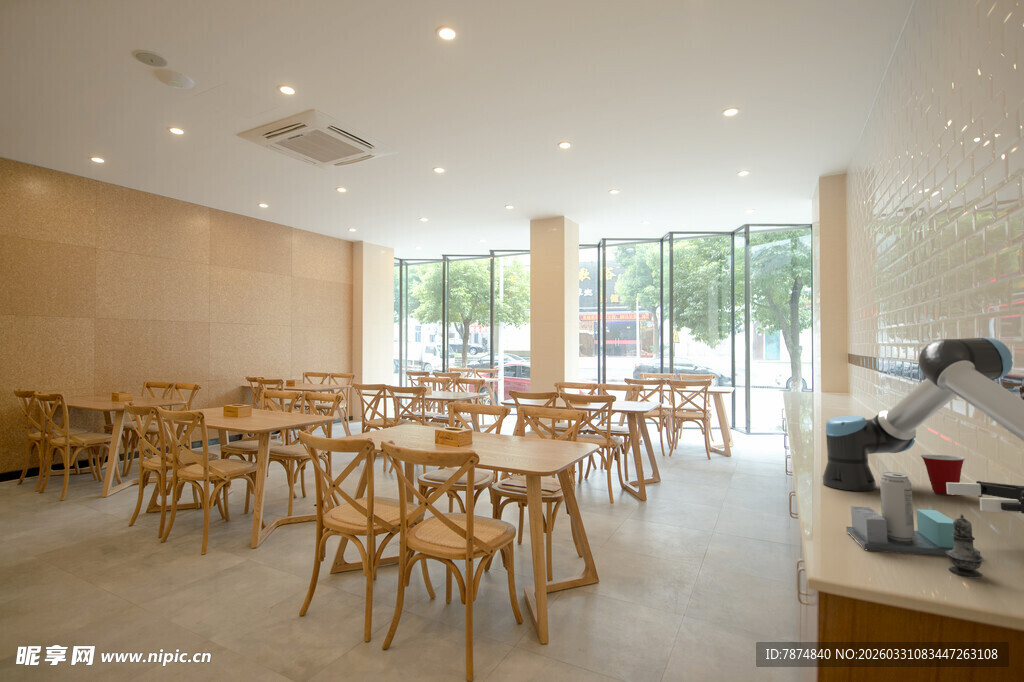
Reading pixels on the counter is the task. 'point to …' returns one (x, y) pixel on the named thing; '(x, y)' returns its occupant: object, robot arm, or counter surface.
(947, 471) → the plastic cup
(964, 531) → the salt shaker
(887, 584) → the counter surface
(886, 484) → the energy drink can
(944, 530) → the sliding jaw
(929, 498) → the counter surface
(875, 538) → the grey base stand
